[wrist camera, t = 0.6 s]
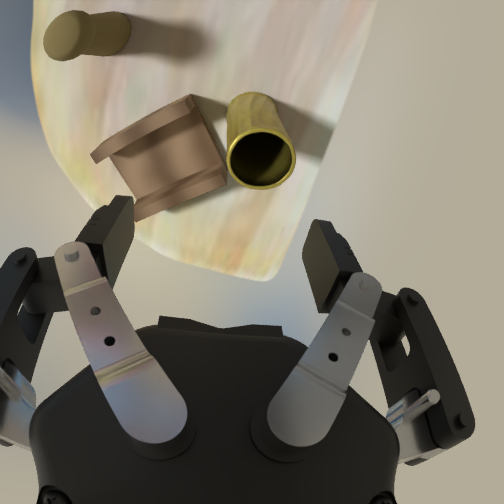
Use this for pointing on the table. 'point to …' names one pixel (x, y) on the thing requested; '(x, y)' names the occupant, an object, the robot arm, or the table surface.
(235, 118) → the vase
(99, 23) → the cork
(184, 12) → the table surface
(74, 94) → the table surface
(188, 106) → the u rest
